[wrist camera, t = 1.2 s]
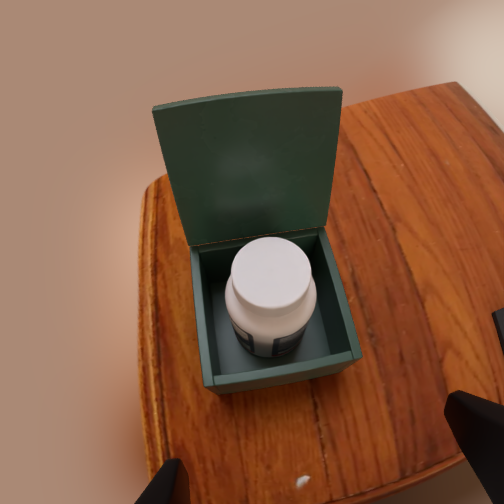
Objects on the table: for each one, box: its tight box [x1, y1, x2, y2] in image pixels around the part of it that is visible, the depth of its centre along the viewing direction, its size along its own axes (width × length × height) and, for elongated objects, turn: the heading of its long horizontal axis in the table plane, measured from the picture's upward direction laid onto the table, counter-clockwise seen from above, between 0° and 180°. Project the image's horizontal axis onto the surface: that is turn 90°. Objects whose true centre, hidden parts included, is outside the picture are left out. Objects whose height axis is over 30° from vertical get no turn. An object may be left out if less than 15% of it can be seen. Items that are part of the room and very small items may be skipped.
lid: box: [152, 87, 343, 246], centre depth 17 cm, size 10×9×1 cm
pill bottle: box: [225, 237, 316, 358], centre depth 19 cm, size 5×5×9 cm
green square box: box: [190, 226, 363, 395], centre depth 21 cm, size 9×9×6 cm
